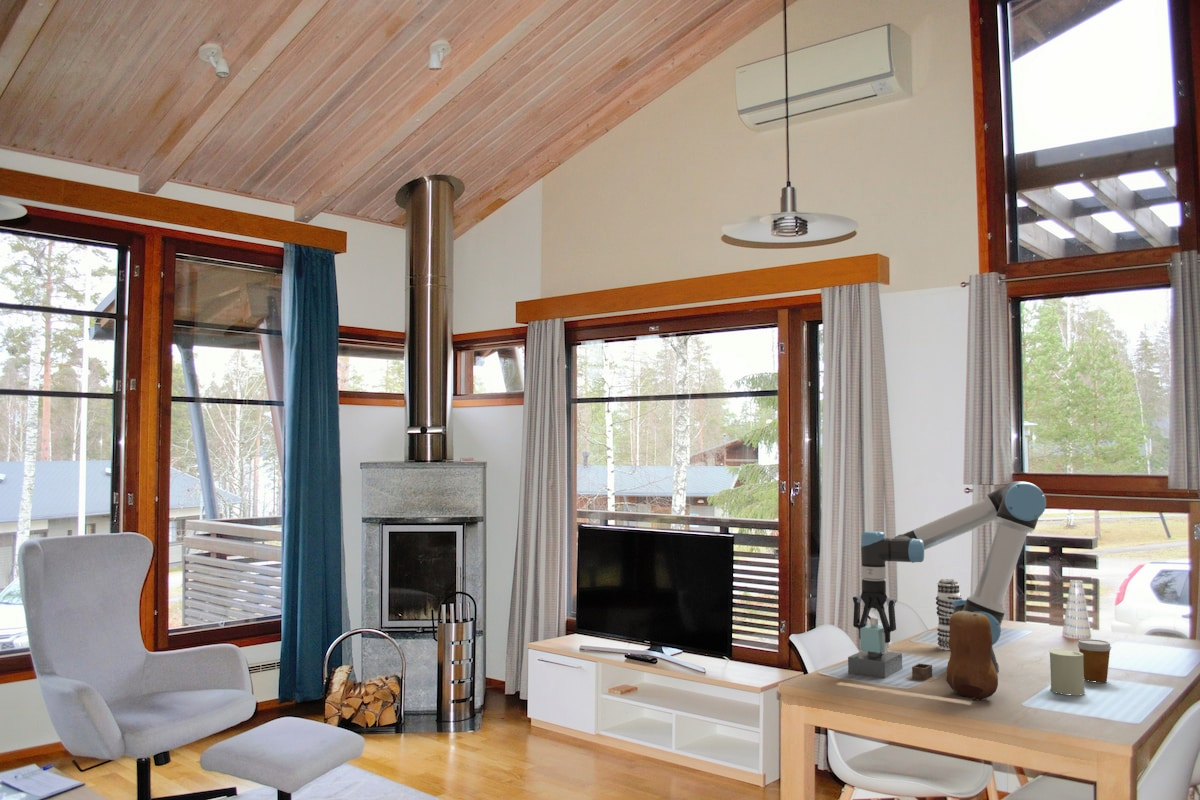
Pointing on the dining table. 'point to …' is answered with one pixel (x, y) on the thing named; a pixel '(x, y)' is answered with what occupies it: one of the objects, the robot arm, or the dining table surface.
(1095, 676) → the disposable coffee cup
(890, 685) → the dining table surface
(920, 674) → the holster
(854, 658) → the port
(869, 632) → the teal and white block
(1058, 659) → the can
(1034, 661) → the dining table surface
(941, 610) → the decorative candle
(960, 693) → the butternut squash
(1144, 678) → the dining table surface
